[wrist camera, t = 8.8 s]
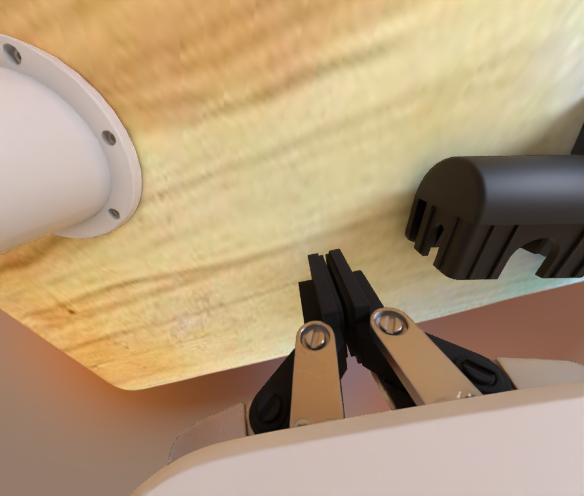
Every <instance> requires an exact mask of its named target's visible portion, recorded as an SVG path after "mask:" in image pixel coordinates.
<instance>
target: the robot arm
mask: <svg viewBox="0 0 584 496" xmlns="http://www.w3.org/2000/svg"><path fill="white" fill-rule="evenodd" d="M141 190H142V178H141V168H140V164H139V161H138V157H137V154H136V151H135V148H134V146H133V144H132V142H131V139H130V137H129V135H128V133H127V131H126V129H125V128H124V126H123V125H122V123H121V121H120V120H119V118H118V117H117V115H116V114H115V112H114V111H113V109H112V108H111V107H110V106H109V105H108V103H107V102H106V101H105V100H104V99H103V97H102V96H101V95H100V94H99V93H98V91H96V90H95V89H94V88H93V87H92V86H91V85H90V84H89V83H88V82H87V81H86V80H85V79H84V78H83V77H81V76H80V75H79V74H78V73H77V72H76V71H74V70H73V69H71V68H70V67H69V66H67V65H66V64H64V63H63V62H62V61H60V60H59V59H58V58H56V57H54V56H52V55H50V54H49V53H47V52H45V51H43V50H41V49H39V48H37V47H35V46H33V45H31V44H28V43H26V42H23V41H20V40H18V39H15V38H12V37H10V36H7V35H4V34H0V254H3V253H5V252H8V251H10V250H13V249H15V248H17V247H20V246H22V245H25V244H27V243H30V242H32V241H35V240H37V239H40V238H42V237H44V236H47V235H49V234H52V235H56V236H61V237H65V238H77V239H85V238H96V237H99V236H102V235H105V234H108V233H110V232H112V231H114V230H116V229H118V228H119V227H121V226H122V225H123V224H125V223H126V222H127V221H128V220H130V218H131V217H132V215H133V214H134V213H135V211H136V209H137V207H138V204H139V201H140V198H141ZM325 256H326V263H325V260H324V258H323V255H320V256H319V255H318V253H316V254H311V255H308V260H309V265H310V271H311V276H312V280H307V281H302V282H298V283H299V290H300V297H301V304H302V311H303V317H304V325H303V326H301V327H300V329H299V330H298V332H297V335H296V344H295V348H294V350H293V351H292V352H291V353H290V354H289V356H288V357H287V358H286V359H285V361H284V362H283V363H282V364H281V365H280V367H279V368H278V369H277V370H276V372H275V373H274V374H273V375H272V376H271V377H270V379H269V380H268V381H267V382H266V384H265V385H264V386H263V387H262V389H261V390H260V391H259V392H258V393H257V395H256V396H255V398H254V399H253V400H252V401H250V402H248V403H246V404H244V402H241V403H239V404H237V405H235V406H233V407H230V408H228V409H226V410H224V411H221V412H219V413H217V414H215V415H213V416H211V417H208V418H206V419H204V420H202V421H199V422H197V423H195V424H193V425H191V426H189V427H188V428H186V429H185V430H184V431H183V432H182V433H181V434H180V435H179V436H178V437H177V439H176V441H175V442H174V444H173V446H172V448H171V452H170V455H169V458H168V464H167V466H165V467H164V468H162V469H161V470H160V471H158V472H157V473H155V475H153V476H151V477H150V478H149V479H148V480H146V481H145V482H144V483H143V484H142V485H141V486H139V487H138V488H137V489H136V490H135V491H134V492H133V493H132V494H131V495H130V496H584V365H582V364H579V363H576V362H571V361H566V360H547V359H526V358H504V357H496V358H495V360H490V359H488V358H486V357H484V356H482V355H480V354H477V353H475V352H472V351H470V350H467V349H465V348H463V347H460V346H457V345H455V344H453V343H450V342H448V341H445V340H443V339H440V338H438V337H435V336H433V335H430V334H428V333H425V332H423V331H422V330H421V329H420V328H419V327H418V326H417V325H416V324H415V323H414V321H413V320H412V319H411V318H410V317H409V316H408V315H406V314H405V313H404V312H402V311H400V310H398V309H394V308H387V307H385V308H384V306H383V305H382V303H381V301H380V300H379V298H378V296H377V295H376V293H375V292H374V290H373V288H372V287H371V285H370V284H369V282H368V280H367V279H366V277H365V275H364V274H363V272H362V271H361V270H358V271H353V272H352V270H351V269H350V267H349V265H348V263H347V261H346V259H345V258H344V256H343V254H342V252H341V250H340V249H336V250H331V251H329V254H326V255H325ZM326 264H327V265H326ZM346 343H347V344H346ZM347 346H348V349H349V352H350V355H351V356H356V359H357V362H358V363H362V365H363V366H364V367H366V368H367V369H369V370H371V374H372V376H373V378H374V380H375V382H376V383H377V385H378V387H379V389H380V390H381V392H382V394H383V396H384V398H385V400H386V402H387V403H388V405H389V407H390V409H391V411H387V412H381V413H375V414H369V415H363V416H358V417H351V418H346V419H345V412H344V403H343V395H342V387H341V378H342V377H343V375H344V373H345V372H346V370H347V362H346V358H347V357H348V354H347Z"/></svg>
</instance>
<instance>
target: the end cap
mask: <svg viewBox="0 0 584 496" xmlns="http://www.w3.org/2000/svg"><path fill="white" fill-rule="evenodd" d="M406 237H407V238H408V239H409V240H410V241H413V242H415V245H414V248H415V249H416V250H417V251H418V252H419V253H420V254H421V255H422V256H428V254H429V251H430V248H431V247H439V250H438V253H437V255H436V258H435V261H434V263H433V265H434V266H435V267H436V268H437V269H438V270H439V271H440V272H441V273H443V274H444V275H445V276H447V277H449V278H452V279H456V280H479V279H498V277H499V275H500V274H501V272H502V270H503V268H504V267H505V265H506V263H507V261H508V260H509V258H510V257H511V255H512V254H513V253H514V252H515V251H516V250H518V249H519V248H523V249H525V250H527V251H529V252H531V253H533V254H539V253H540V251H541V250H542V248H543V247H544V245H545V243H546V242H547V240H548V239H549V240H550V241H551V249H550V252H549V254H548V256H547V257H546V259H545V260H544V262H543V263H542V265H541V266H540V268H539V269H538V271H537V272H536V274H535V275H537V276H539V277H541V278H581V277H583V276H584V155H525V156H464V157H451V158H447V159H444V160H443V161H441V162H439V163H437V164H436V165H435V166H434V167H432V168H431V169H430V170H429V172H428V173H427V174H426V175H425V177H424V178H423V180H422V181H421V183H420V185H419V188H418V190H417V193H416V196H415V200H414V204H413V207H412V211H411V215H410V218H409V222H408V226H407V229H406Z"/></svg>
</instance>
